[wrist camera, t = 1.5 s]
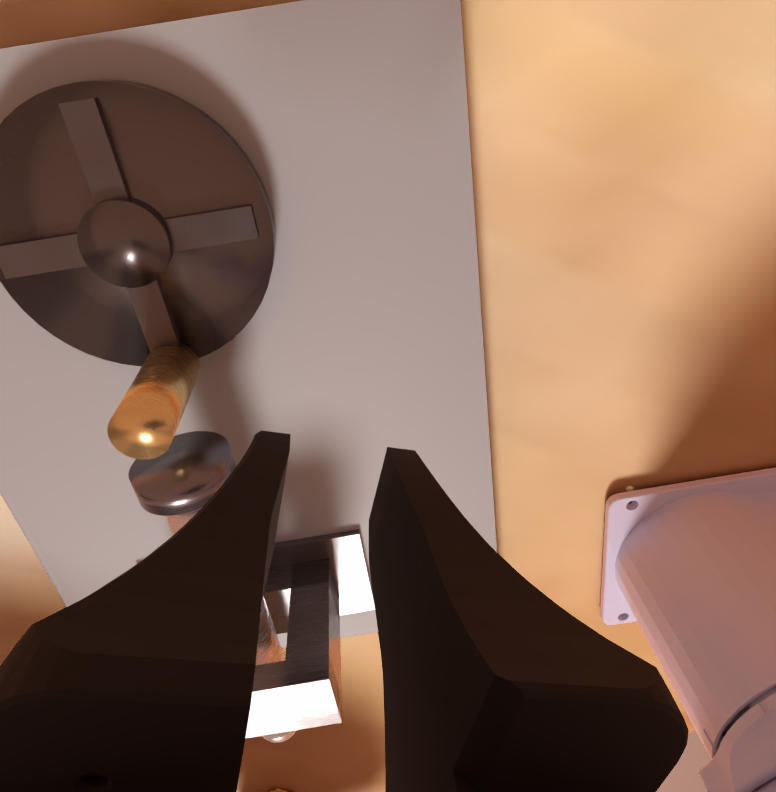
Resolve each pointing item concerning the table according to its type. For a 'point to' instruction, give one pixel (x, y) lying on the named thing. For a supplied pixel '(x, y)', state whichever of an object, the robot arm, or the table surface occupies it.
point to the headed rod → (197, 506)
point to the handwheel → (133, 238)
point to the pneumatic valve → (278, 790)
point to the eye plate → (308, 630)
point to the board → (282, 282)
